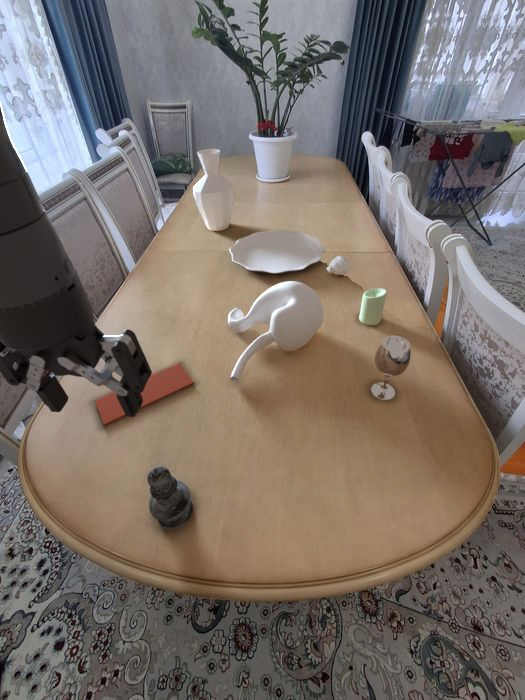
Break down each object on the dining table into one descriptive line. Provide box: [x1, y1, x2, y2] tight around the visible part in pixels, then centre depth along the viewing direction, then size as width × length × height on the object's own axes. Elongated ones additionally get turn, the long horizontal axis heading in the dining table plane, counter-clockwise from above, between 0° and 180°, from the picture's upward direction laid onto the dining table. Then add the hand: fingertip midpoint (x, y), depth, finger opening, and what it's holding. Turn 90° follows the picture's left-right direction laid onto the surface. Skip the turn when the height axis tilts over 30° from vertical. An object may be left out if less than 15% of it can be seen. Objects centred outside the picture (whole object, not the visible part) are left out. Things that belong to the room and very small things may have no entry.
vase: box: [192, 148, 235, 232], centre depth 123 cm, size 14×14×25 cm
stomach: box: [227, 280, 325, 383], centre depth 76 cm, size 23×13×24 cm
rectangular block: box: [94, 362, 194, 426], centre depth 70 cm, size 18×7×1 cm, turn 123°
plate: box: [228, 229, 326, 275], centre depth 110 cm, size 29×29×2 cm
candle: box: [358, 287, 388, 326], centre depth 82 cm, size 5×5×8 cm
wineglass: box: [370, 335, 412, 401], centre depth 63 cm, size 6×6×12 cm
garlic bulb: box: [326, 255, 351, 276], centre depth 99 cm, size 6×6×5 cm
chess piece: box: [146, 465, 194, 530], centre depth 48 cm, size 6×6×12 cm
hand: (97, 408), depth 38 cm, fingers open, 8 cm apart
